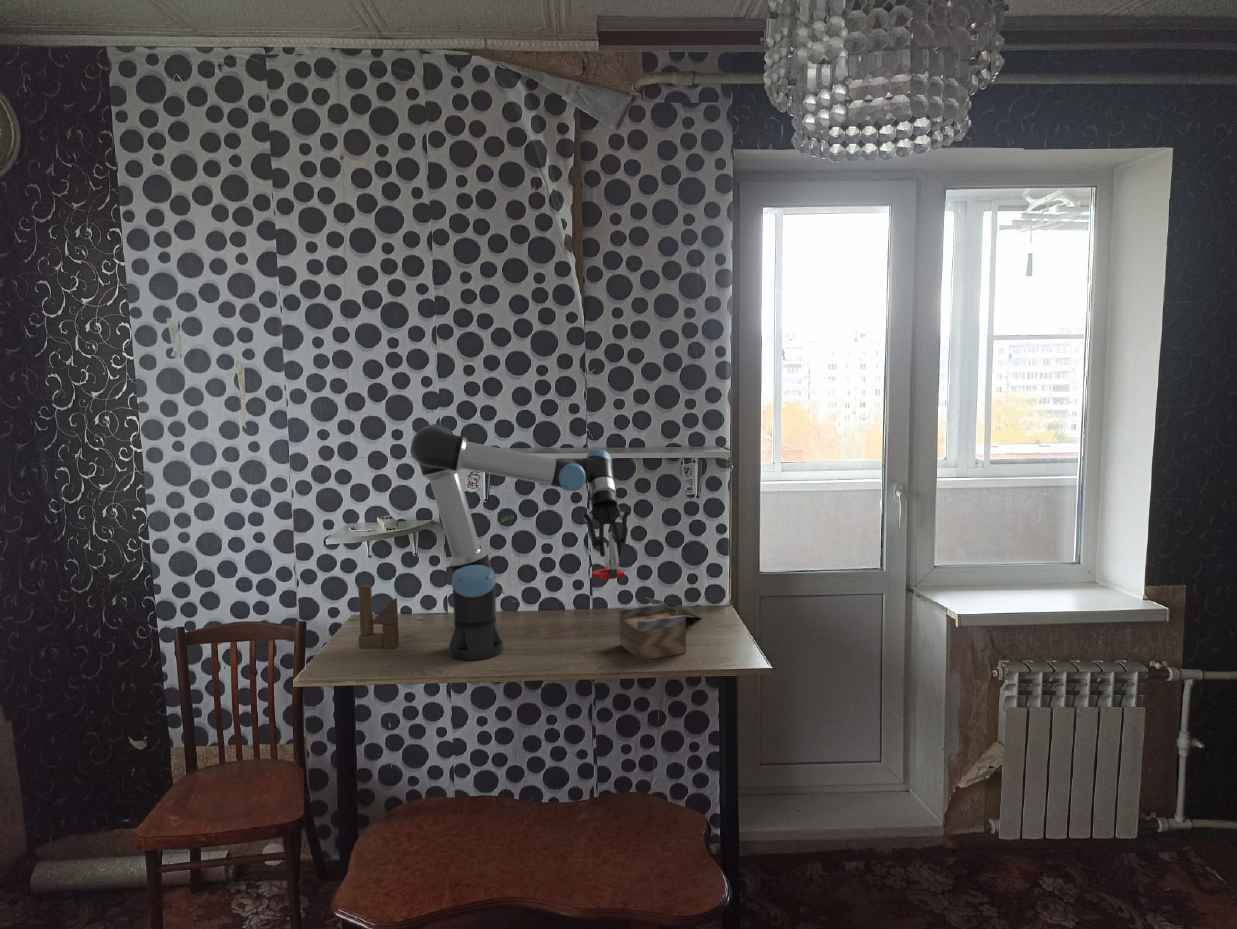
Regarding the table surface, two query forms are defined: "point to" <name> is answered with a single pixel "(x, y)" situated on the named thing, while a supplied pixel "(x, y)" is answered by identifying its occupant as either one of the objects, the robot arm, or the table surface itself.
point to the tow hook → (611, 571)
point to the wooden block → (377, 622)
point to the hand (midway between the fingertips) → (612, 565)
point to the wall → (675, 609)
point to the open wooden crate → (652, 632)
